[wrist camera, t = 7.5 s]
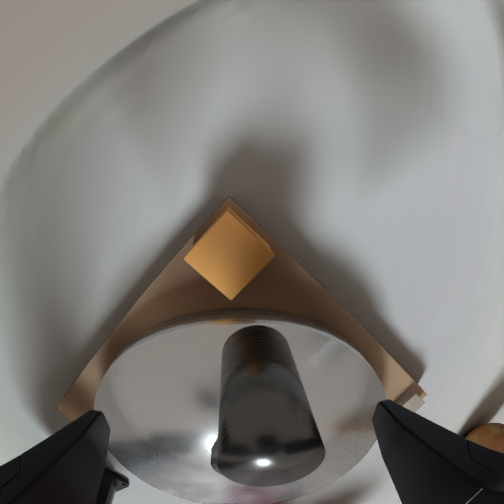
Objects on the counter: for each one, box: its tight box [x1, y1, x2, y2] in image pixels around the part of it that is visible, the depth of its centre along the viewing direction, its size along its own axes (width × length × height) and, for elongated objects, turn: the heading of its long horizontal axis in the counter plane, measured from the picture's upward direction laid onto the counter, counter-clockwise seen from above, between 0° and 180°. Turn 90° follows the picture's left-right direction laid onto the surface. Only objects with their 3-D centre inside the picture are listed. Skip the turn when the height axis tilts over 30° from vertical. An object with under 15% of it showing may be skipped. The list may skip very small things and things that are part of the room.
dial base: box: [56, 197, 427, 422], centre depth 15 cm, size 20×20×4 cm
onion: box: [465, 423, 504, 453], centre depth 17 cm, size 10×10×10 cm
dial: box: [94, 308, 386, 504], centre depth 11 cm, size 18×18×8 cm
